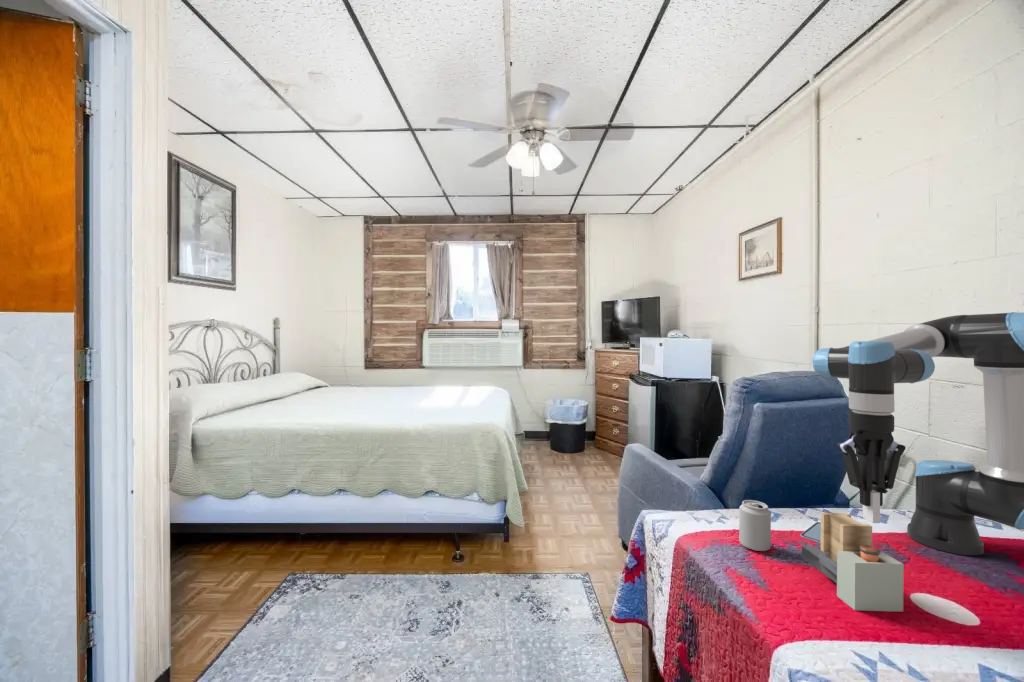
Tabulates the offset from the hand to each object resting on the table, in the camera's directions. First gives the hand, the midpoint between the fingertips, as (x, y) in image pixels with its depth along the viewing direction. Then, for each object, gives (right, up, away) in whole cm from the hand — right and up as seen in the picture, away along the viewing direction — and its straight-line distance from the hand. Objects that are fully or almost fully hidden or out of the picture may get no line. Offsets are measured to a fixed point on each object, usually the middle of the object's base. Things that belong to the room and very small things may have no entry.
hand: (871, 520), depth 90 cm
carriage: (0, -18, +7) cm, 19 cm away
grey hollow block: (-1, -18, 0) cm, 18 cm away
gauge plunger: (-1, -10, 0) cm, 10 cm away
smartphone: (+14, -19, +33) cm, 41 cm away
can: (-11, -18, +25) cm, 33 cm away
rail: (0, -18, +11) cm, 21 cm away
